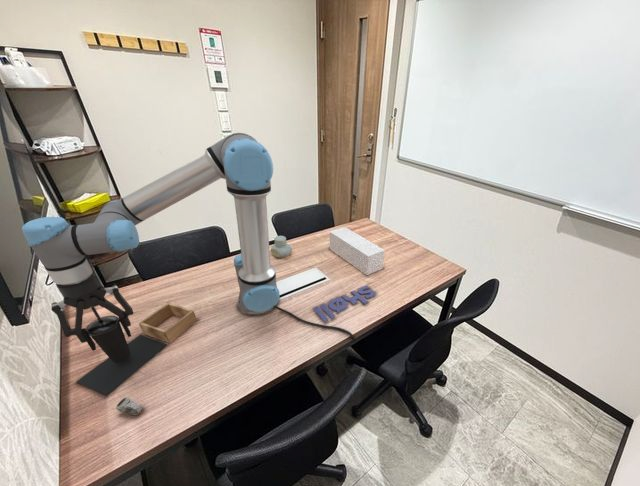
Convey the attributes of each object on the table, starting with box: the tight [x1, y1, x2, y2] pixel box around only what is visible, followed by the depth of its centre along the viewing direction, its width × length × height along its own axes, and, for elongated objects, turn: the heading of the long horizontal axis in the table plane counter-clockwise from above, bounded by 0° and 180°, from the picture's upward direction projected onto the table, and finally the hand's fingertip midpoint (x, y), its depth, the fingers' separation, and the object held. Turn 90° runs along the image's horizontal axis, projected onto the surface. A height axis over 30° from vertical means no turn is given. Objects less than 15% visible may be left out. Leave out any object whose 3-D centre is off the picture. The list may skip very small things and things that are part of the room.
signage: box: [312, 285, 376, 323], centre depth 119 cm, size 28×1×10 cm
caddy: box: [138, 302, 198, 344], centre depth 102 cm, size 12×12×5 cm
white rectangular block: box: [329, 226, 386, 276], centre depth 148 cm, size 32×11×11 cm, turn 39°
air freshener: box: [270, 235, 293, 259], centre depth 147 cm, size 11×8×10 cm
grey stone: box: [115, 396, 144, 416], centre depth 75 cm, size 4×6×5 cm, turn 85°
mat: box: [76, 334, 168, 397], centre depth 89 cm, size 12×20×1 cm, turn 161°
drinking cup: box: [85, 307, 131, 363], centre depth 82 cm, size 8×8×20 cm
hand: (112, 340), depth 84 cm, fingers closed on drinking cup, 8 cm apart
